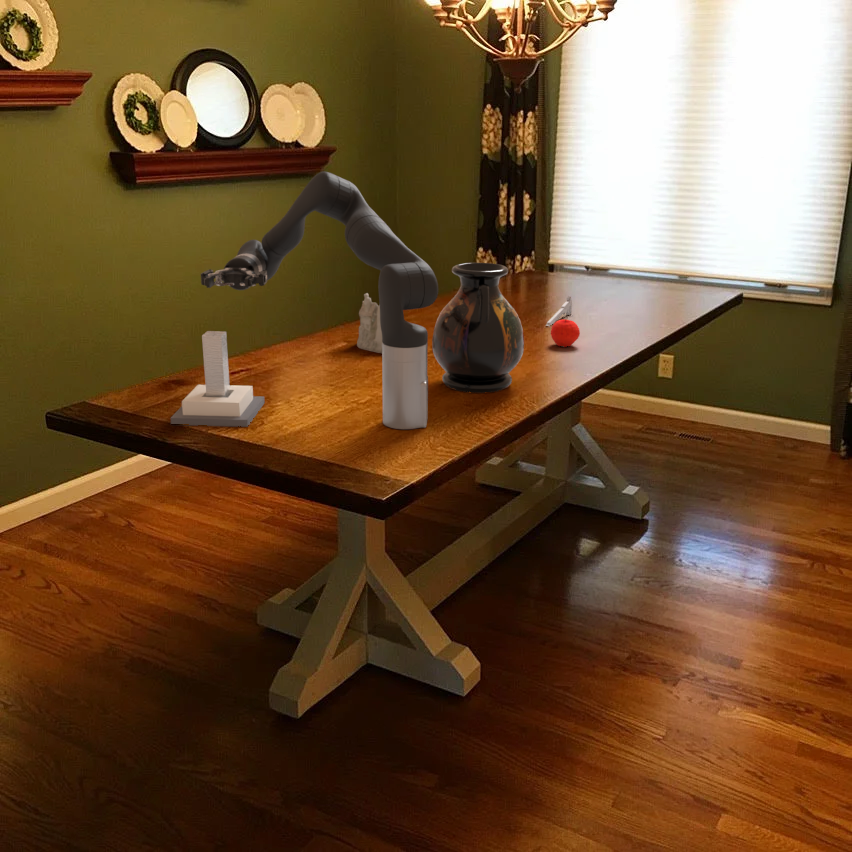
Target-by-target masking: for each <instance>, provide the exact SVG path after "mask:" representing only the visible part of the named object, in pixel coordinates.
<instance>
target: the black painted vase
mask: <svg viewBox="0 0 852 852" xmlns="http://www.w3.org/2000/svg"><path fill="white" fill-rule="evenodd" d="M451 272H452V273H453V274H454V275H455V276H458V277H459V279H460V280H459V281H460V287H459V289H458V291H457V293H456V294H455V295H453V296H454V297H452V298H451V300H450V301H448V303H447V304H446V305H445V306H444V307H443V308H442V310H441V311H440V312H439V315H438V317H437V319H436V322H435V324H434V325H435V326H434V327H433V328H434V329H433V332H432V333H433V335H432V339H431V342H432V343H431V344H432V345H431V346H432V348H431V349H432V353H433V356H434V358H435V360H436V362H437V363H438V364H439V365H440V367H441V368H442V369H443V370H444V374H443V375H442V378H441V379H442V382H443V384H445V386H446V387H448V388H450V389H451V390H455V391H458V392H462V391H463V393H469V392H471V394H486V393H485V392H490V393H495V391H496V392H499V390H500V391H502V390H504V389H506V388H508V387H509V386H510V385H511V384H512V383H513V382H512V381H513V378H512V375H510V373H511V372H512V371H513V369H515V367H517V365H518V364H519V362H520V361H521V360H522V357H523V354H524V351H525V350H524V349H525V337H524V330H523V326H522V322H521V319H520V318H519V315H518V313H517V311H516V310H515V308H514V307H513V306H512V305H511V304H510V303H509V301H508V300H507V299H506V298H505V296H504V295H503V294H502V292H501V290H500V288H499V284H500V278H502V277H504V276H506V275H508V273H509V269H508V267H506V266H505V265H502V264H499V263H492V262H491V263H490V262H465V263H459V264H456V265H454V266H452V267H451Z"/></svg>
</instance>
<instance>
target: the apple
mask: <svg viewBox="0 0 852 852" xmlns="http://www.w3.org/2000/svg"><path fill="white" fill-rule="evenodd" d="M550 328H551V329H550V335H551V340H553V342H554V344H555V345H556V346H558V347H560V346H564V347H563V348H568V347H571V346H572V345H573V344H574V343H575V342H576V341H577V340H578V339H579V337H580V333H581V332H580V328H579V326H578V324H577V323H576V322H575V321H573V320H570V319H557V320H556V322H555V323H554V324H553V325H552V326H551V327H550ZM567 346H568V347H567Z"/></svg>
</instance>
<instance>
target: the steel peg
mask: <svg viewBox="0 0 852 852" xmlns="http://www.w3.org/2000/svg"><path fill="white" fill-rule="evenodd" d="M227 338H228V337H227V331H224V330H223V331H219V330H218V331H215V330H207V331H206V332H205V333H203V334H202V335H201V340H202V353H203V356H202V357H203V370H204V380H205V381H204V382H205V384H204V385H206V397H220V398H228V397H229V396H230V373H229V372H230V371H229V369H230V368H229V356H228V339H227Z"/></svg>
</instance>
